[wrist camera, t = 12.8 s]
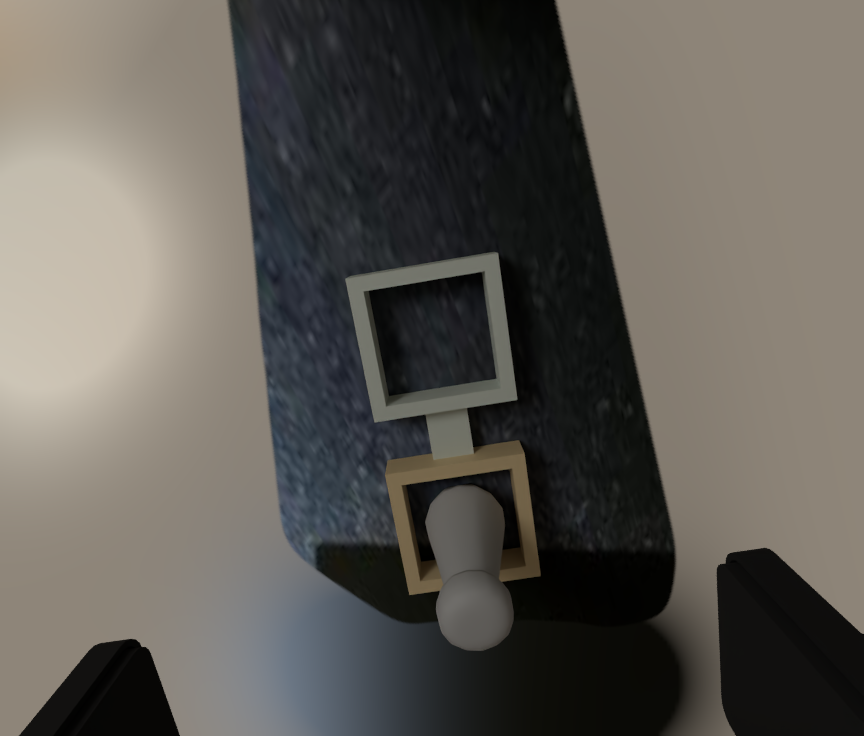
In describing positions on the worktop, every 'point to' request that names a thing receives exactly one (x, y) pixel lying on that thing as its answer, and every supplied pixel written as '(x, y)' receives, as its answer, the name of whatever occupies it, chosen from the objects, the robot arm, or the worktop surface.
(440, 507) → the salt shaker
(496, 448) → the sockets
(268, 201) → the worktop surface
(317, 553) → the worktop surface
